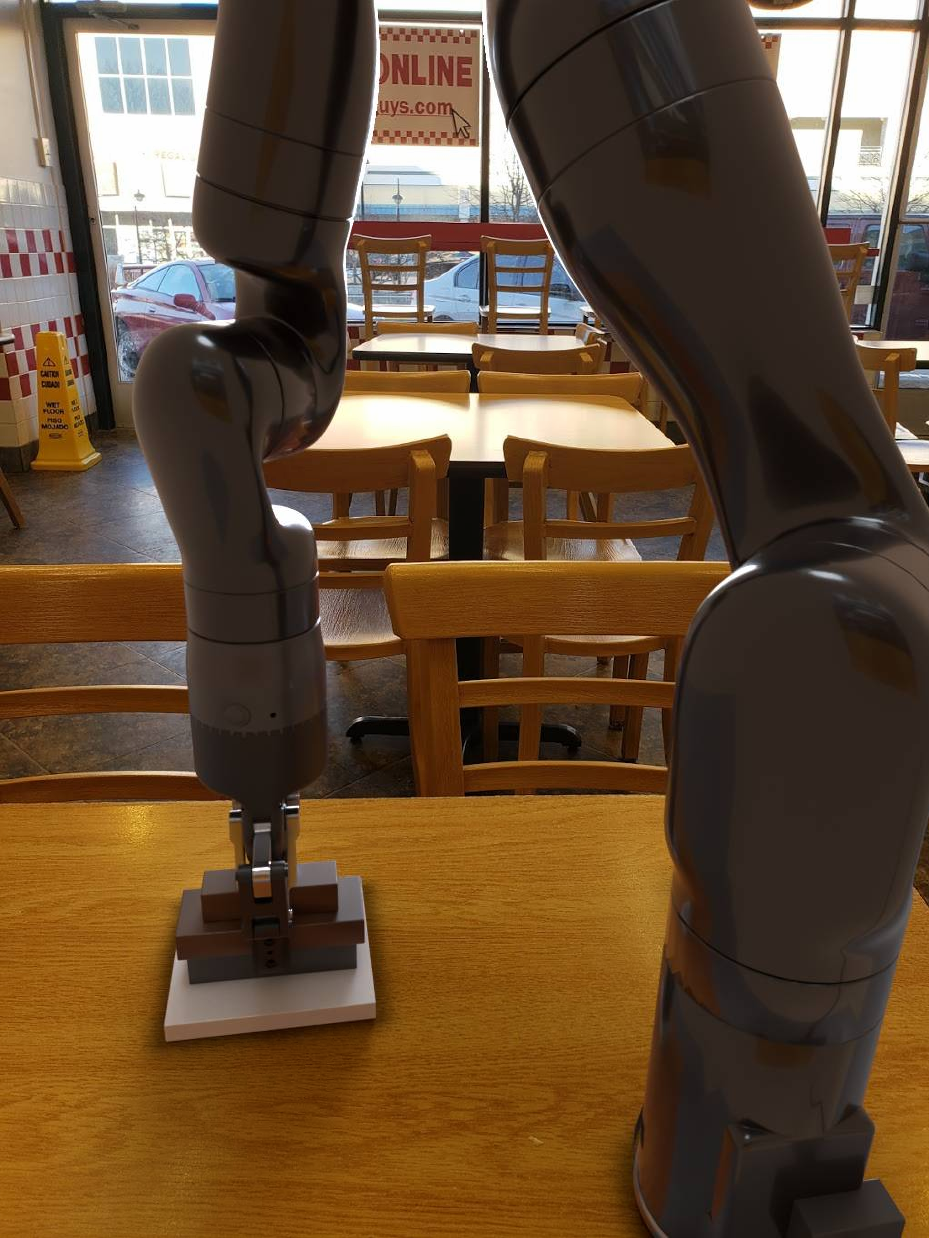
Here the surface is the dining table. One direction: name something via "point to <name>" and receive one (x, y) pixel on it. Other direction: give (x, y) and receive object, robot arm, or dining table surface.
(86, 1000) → the dining table surface
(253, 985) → the tile
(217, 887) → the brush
